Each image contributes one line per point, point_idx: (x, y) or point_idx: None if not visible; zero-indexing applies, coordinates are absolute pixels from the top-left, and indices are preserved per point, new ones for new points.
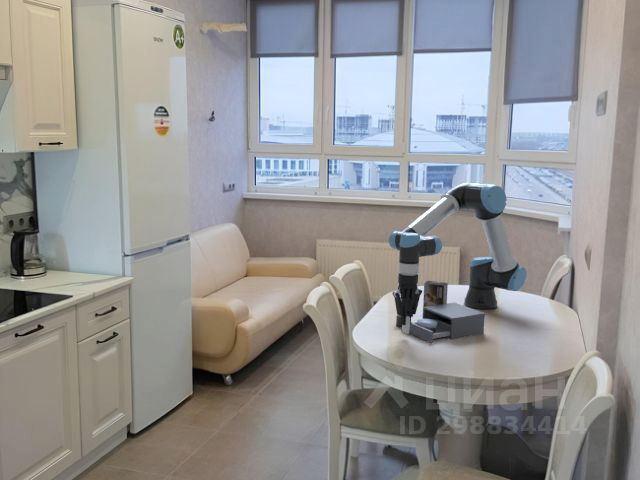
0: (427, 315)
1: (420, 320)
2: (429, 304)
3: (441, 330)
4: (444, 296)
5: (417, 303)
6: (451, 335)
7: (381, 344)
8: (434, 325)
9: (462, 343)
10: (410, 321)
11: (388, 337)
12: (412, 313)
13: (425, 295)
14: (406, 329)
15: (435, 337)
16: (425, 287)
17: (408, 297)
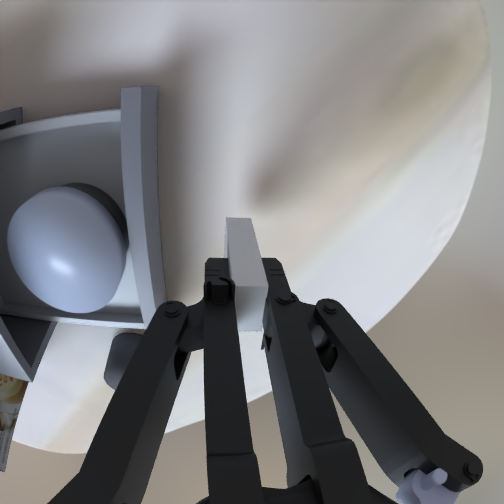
0: (25, 338)
1: (89, 294)
2: (2, 389)
3: (15, 197)
4: None
5: (126, 392)
6: (9, 111)
7: (397, 206)
8: (43, 193)
9: (18, 37)
10: (210, 270)
11: (300, 266)
12: (191, 315)
13: (7, 427)
14: (253, 231)
15: (99, 110)
16: (2, 455)
17: (320, 479)
